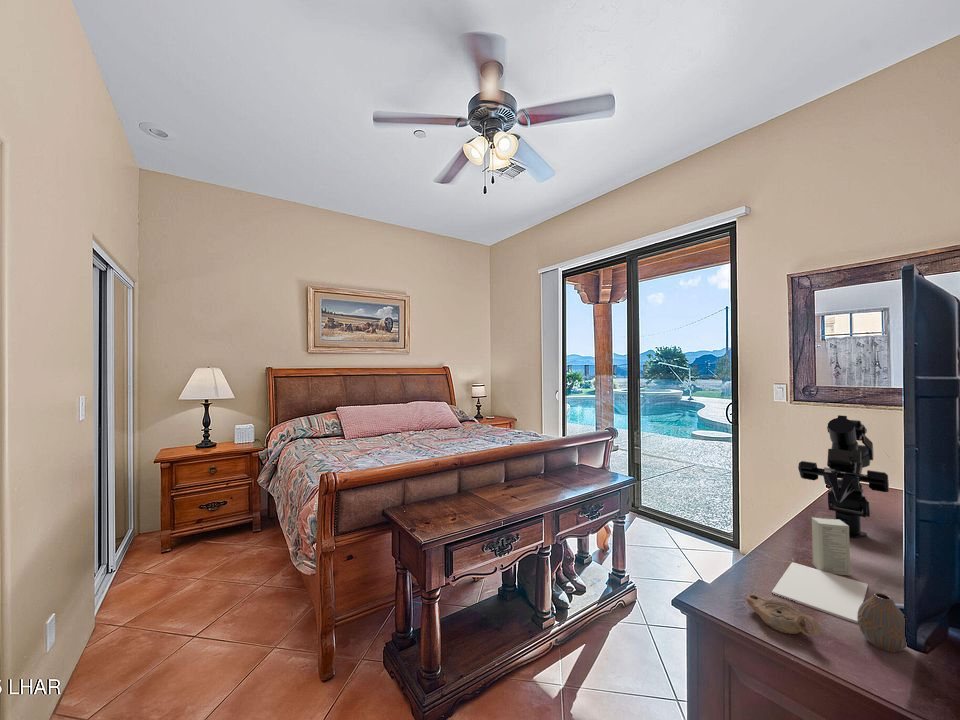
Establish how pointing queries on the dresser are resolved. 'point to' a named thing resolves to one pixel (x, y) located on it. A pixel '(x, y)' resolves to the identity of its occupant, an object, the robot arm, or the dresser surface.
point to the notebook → (822, 591)
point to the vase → (882, 623)
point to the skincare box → (831, 546)
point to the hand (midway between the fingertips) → (838, 501)
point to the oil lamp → (782, 616)
